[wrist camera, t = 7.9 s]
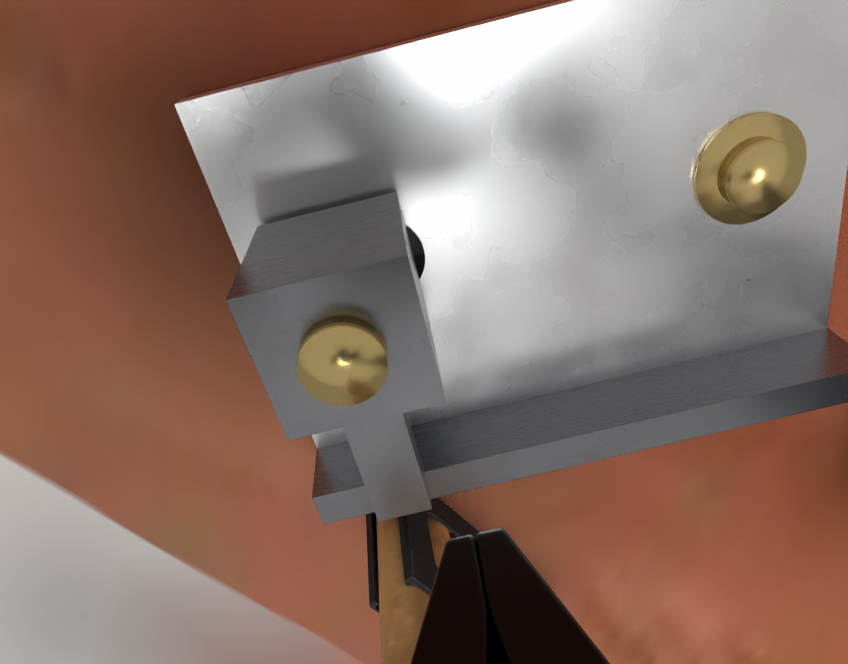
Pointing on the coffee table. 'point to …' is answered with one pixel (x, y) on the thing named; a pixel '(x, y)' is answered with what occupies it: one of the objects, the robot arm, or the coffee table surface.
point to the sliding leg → (344, 338)
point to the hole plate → (575, 219)
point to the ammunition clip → (407, 572)
